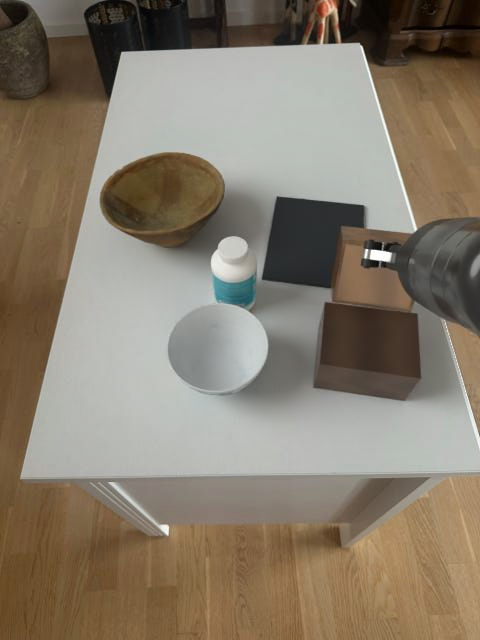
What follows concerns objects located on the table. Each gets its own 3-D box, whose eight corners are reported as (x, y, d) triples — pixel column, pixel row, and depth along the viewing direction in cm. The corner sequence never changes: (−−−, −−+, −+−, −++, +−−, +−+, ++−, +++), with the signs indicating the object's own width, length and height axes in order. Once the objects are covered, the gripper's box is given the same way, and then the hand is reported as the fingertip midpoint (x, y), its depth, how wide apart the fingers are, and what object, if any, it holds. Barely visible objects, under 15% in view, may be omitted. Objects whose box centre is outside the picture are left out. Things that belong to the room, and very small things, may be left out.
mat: (363, 207, 91) (364, 205, 90) (361, 292, 79) (361, 290, 79) (276, 198, 93) (276, 196, 92) (261, 279, 81) (261, 277, 81)
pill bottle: (262, 308, 78) (265, 257, 66) (223, 321, 76) (218, 272, 65) (246, 277, 81) (246, 224, 70) (209, 289, 80) (202, 237, 69)
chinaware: (210, 431, 66) (206, 413, 59) (156, 362, 72) (147, 338, 66) (286, 374, 71) (289, 351, 64) (228, 314, 77) (226, 287, 71)
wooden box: (411, 312, 67) (403, 292, 73) (429, 250, 62) (419, 234, 68) (331, 302, 68) (330, 283, 74) (342, 240, 63) (341, 225, 69)
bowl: (120, 193, 95) (107, 153, 86) (226, 190, 95) (224, 149, 86) (105, 273, 83) (89, 235, 74) (227, 269, 83) (224, 231, 74)
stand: (402, 340, 74) (417, 313, 67) (404, 401, 68) (421, 378, 61) (318, 328, 75) (324, 301, 68) (312, 387, 69) (319, 364, 63)
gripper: (572, 227, 31) (477, 228, 48) (380, 207, 32) (353, 214, 49) (544, 331, 33) (462, 296, 49) (362, 307, 34) (342, 281, 51)
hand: (408, 255), depth 49 cm, fingers closed
